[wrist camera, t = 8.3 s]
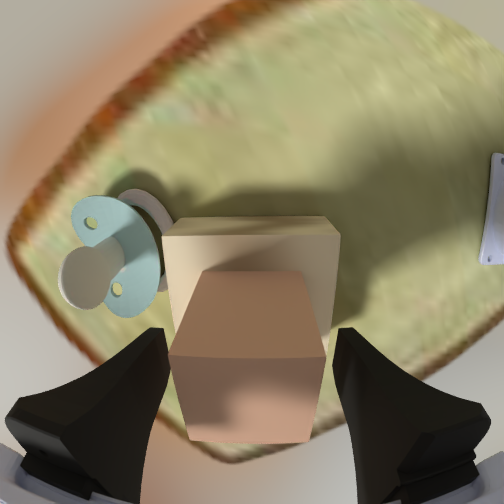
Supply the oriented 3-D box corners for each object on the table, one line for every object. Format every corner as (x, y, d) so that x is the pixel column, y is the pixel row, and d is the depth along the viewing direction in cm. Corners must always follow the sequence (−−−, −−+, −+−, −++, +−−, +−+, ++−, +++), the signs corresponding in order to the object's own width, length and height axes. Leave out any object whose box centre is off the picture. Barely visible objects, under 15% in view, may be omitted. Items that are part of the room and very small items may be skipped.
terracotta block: (300, 270, 13) (326, 356, 8) (295, 348, 15) (308, 441, 9) (202, 271, 14) (167, 354, 8) (209, 348, 15) (190, 440, 10)
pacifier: (162, 170, 16) (78, 200, 16) (116, 184, 10) (15, 228, 10) (199, 286, 18) (117, 303, 19) (179, 349, 12) (77, 360, 13)
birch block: (324, 216, 16) (340, 234, 13) (314, 335, 19) (323, 371, 16) (180, 217, 16) (161, 236, 13) (193, 336, 19) (183, 371, 16)
